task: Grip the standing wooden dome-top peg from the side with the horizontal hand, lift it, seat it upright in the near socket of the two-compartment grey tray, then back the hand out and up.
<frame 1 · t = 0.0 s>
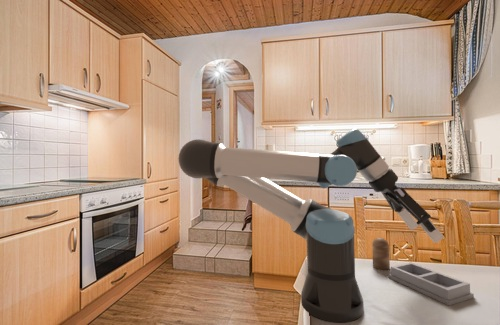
hand: (426, 233, 76), 15 cm above the table, tool tilted 35°, fingers open, 13 cm apart
wooden dome-top peg: (381, 267, 90), on the table
two-compartment grey tray: (427, 286, 75), on the table
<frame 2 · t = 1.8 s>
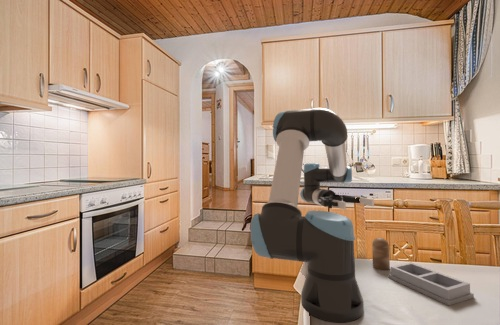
hand: (359, 204, 99), 20 cm above the table, tool horizontal, fingers open, 13 cm apart
nothing on the table moved.
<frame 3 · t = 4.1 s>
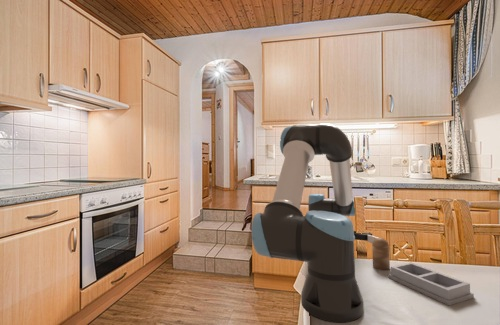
hand: (368, 245, 96), 6 cm above the table, tool horizontal, fingers open, 13 cm apart
nothing on the table moved.
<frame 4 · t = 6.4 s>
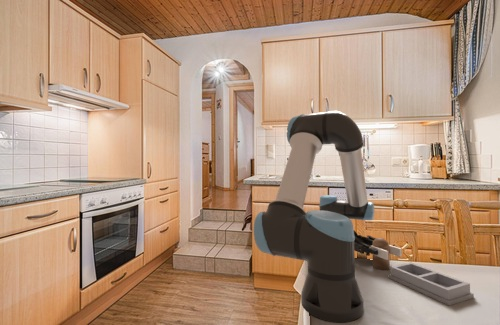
hand: (394, 254, 85), 6 cm above the table, tool horizontal, fingers closed on wooden dome-top peg, 5 cm apart
wooden dome-top peg: (381, 267, 90), on the table, touching gripper
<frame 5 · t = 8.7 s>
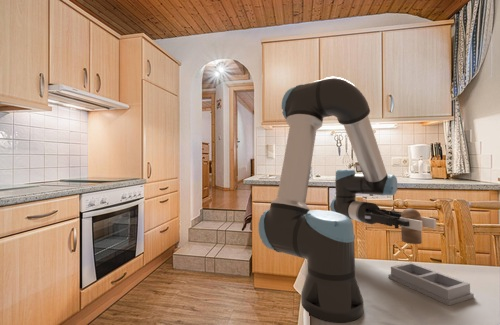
hand: (428, 224, 75), 18 cm above the table, tool horizontal, fingers closed on wooden dome-top peg, 5 cm apart
wooden dome-top peg: (411, 241, 79), point 12 cm above the table, touching gripper
when the fingers open (8 cm above the table, at t = 10.8 s): wooden dome-top peg drops 1 cm, resting on two-compartment grey tray.
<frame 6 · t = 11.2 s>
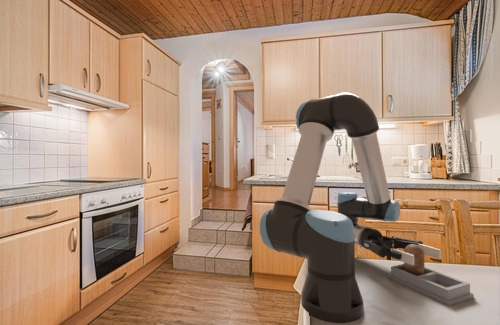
hand: (427, 257, 75), 8 cm above the table, tool horizontal, fingers open, 10 cm apart
wooden dome-top peg: (413, 277, 79), point 1 cm above the table, touching two-compartment grey tray
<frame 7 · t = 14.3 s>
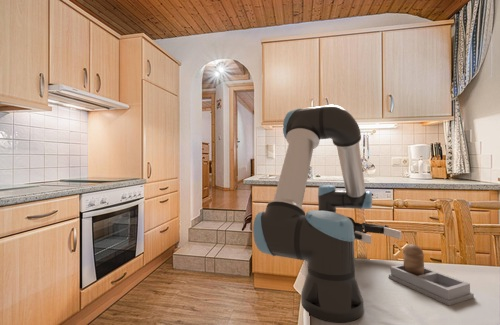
hand: (386, 237, 88), 11 cm above the table, tool horizontal, fingers open, 13 cm apart
nothing on the table moved.
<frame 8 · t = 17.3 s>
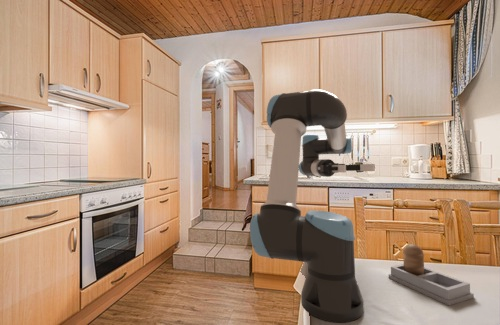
hand: (360, 168, 96), 34 cm above the table, tool horizontal, fingers open, 13 cm apart
nothing on the table moved.
at the end: wooden dome-top peg 0.2 cm from the target spot on the two-compartment grey tray, point 1.0 cm above the two-compartment grey tray's base; wooden dome-top peg tilted 0°; the gripper is holding nothing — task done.
